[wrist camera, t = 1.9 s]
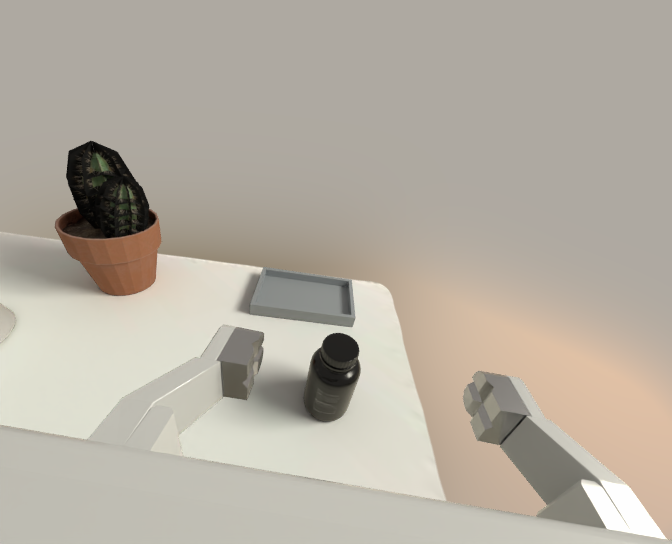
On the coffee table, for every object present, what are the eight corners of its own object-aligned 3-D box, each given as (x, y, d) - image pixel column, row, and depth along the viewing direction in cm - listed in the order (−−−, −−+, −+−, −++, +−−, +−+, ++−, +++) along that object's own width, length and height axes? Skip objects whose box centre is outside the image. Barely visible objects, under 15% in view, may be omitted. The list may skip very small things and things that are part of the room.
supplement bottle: (357, 402, 42) (378, 351, 35) (325, 433, 37) (342, 382, 30) (326, 371, 45) (340, 319, 38) (293, 396, 41) (302, 342, 34)
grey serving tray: (249, 314, 52) (249, 304, 51) (263, 276, 62) (263, 267, 61) (352, 327, 55) (355, 318, 53) (349, 288, 65) (351, 279, 63)
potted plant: (63, 303, 46) (-14, 145, 32) (107, 258, 57) (63, 126, 43) (153, 307, 49) (118, 163, 35) (179, 264, 60) (159, 142, 46)
